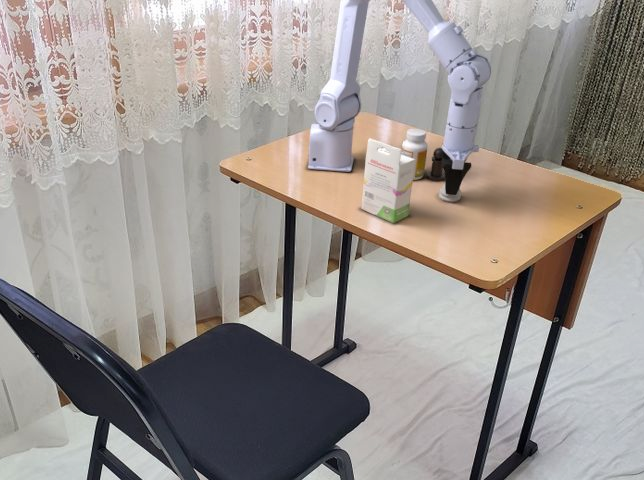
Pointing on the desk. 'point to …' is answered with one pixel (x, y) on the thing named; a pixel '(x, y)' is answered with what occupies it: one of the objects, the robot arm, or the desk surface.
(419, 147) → the supplement bottle
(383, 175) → the ink box
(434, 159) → the ebony pawn
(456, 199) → the rook chess piece
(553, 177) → the desk surface
